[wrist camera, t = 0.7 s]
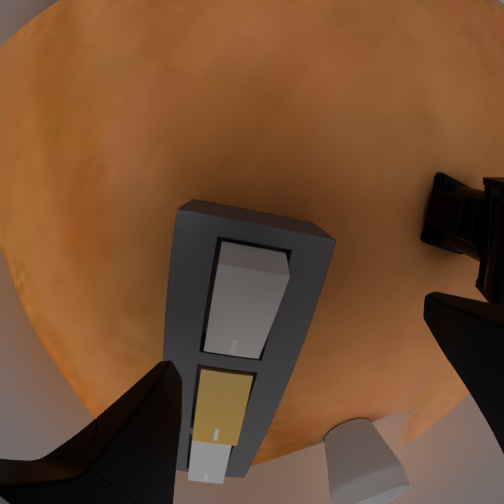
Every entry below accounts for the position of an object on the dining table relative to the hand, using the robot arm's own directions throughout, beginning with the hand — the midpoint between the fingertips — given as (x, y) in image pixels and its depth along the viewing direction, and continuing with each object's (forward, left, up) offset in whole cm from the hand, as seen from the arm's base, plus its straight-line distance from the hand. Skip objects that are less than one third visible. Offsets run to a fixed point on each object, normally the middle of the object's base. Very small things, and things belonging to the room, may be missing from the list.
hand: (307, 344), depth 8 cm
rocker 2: (+1, +12, -9) cm, 15 cm away
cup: (-17, +23, -13) cm, 31 cm away
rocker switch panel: (+1, +12, -13) cm, 17 cm away
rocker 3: (+1, +21, -9) cm, 23 cm away
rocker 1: (+1, +3, -9) cm, 9 cm away
